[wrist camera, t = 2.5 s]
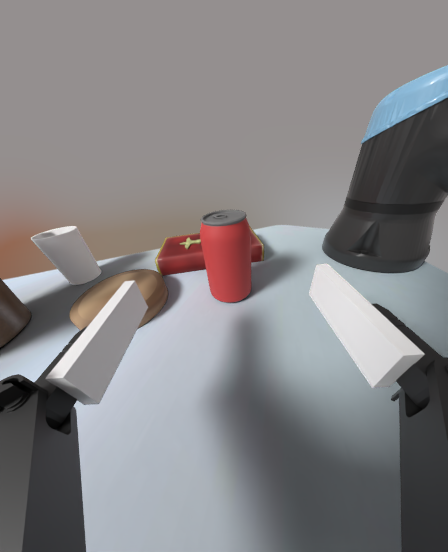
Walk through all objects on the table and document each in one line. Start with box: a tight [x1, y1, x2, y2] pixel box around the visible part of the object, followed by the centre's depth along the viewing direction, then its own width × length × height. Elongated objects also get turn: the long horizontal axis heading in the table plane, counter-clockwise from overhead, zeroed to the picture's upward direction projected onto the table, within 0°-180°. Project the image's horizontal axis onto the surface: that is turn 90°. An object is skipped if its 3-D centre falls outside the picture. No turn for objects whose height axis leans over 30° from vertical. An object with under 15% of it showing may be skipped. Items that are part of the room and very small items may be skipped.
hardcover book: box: [155, 226, 264, 276], centre depth 37 cm, size 12×21×4 cm, turn 96°
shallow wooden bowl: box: [70, 269, 168, 330], centre depth 26 cm, size 13×13×3 cm
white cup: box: [31, 226, 102, 285], centre depth 33 cm, size 7×7×10 cm
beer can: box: [200, 210, 251, 303], centre depth 23 cm, size 7×7×12 cm
